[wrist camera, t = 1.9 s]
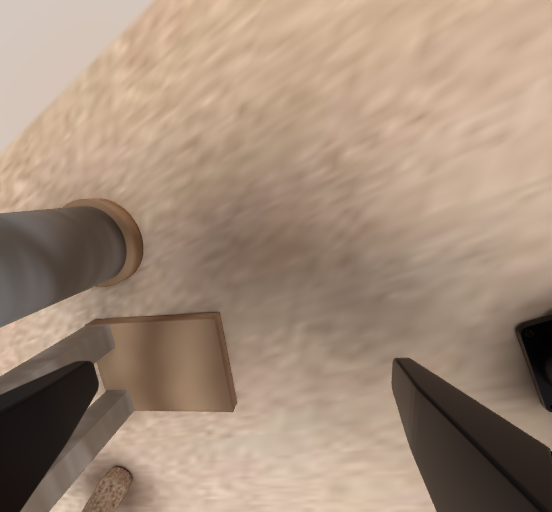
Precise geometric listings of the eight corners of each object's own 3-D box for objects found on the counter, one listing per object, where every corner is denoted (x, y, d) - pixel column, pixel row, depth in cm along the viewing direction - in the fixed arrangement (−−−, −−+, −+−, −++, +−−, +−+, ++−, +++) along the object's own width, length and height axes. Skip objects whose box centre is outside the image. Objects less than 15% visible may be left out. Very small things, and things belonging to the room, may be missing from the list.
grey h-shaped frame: (219, 312, 21) (131, 418, 11) (236, 402, 23) (173, 559, 13) (94, 319, 23) (-67, 414, 14) (119, 401, 25) (-8, 535, 15)
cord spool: (158, 262, 21) (-86, 377, 8) (96, 293, 23) (-186, 426, 10) (113, 183, 20) (-236, 181, 7) (52, 221, 22) (-319, 270, 9)
